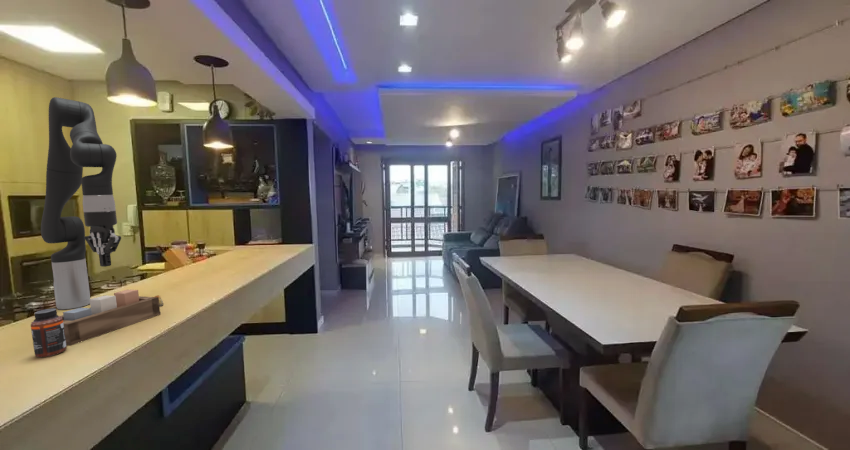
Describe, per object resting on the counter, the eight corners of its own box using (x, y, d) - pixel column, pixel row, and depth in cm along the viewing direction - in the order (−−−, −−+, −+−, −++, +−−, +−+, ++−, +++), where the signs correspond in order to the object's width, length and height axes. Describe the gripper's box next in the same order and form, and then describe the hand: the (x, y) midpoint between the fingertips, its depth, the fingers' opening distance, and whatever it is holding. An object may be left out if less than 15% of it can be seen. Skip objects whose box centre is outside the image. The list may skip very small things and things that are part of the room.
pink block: (115, 308, 123) (114, 293, 122) (129, 304, 127) (128, 289, 126) (126, 309, 121) (124, 293, 121) (139, 304, 126) (138, 289, 125)
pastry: (134, 313, 131) (133, 302, 131) (127, 310, 135) (126, 299, 135) (165, 306, 139) (164, 295, 139) (157, 303, 143) (156, 293, 143)
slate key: (65, 329, 109) (62, 312, 109) (82, 323, 114) (80, 307, 113) (76, 330, 108) (73, 313, 108) (93, 324, 112) (91, 308, 112)
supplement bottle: (73, 348, 102) (68, 306, 100) (51, 358, 96) (45, 314, 95) (51, 348, 102) (46, 307, 101) (27, 358, 96) (21, 314, 95)
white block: (91, 315, 116) (89, 299, 115) (107, 310, 120) (105, 295, 120) (102, 316, 115) (100, 299, 114) (117, 311, 119) (115, 295, 118)
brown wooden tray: (40, 341, 107) (38, 321, 106) (133, 312, 132) (132, 295, 131) (71, 345, 104) (68, 324, 103) (160, 314, 129) (158, 297, 128)
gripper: (70, 211, 115) (77, 267, 117) (101, 210, 111) (107, 269, 113) (98, 209, 122) (104, 263, 124) (128, 209, 118) (133, 264, 120)
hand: (105, 266), depth 118 cm, fingers closed
